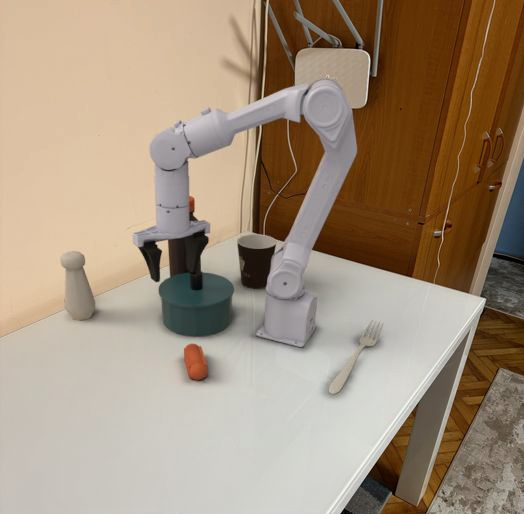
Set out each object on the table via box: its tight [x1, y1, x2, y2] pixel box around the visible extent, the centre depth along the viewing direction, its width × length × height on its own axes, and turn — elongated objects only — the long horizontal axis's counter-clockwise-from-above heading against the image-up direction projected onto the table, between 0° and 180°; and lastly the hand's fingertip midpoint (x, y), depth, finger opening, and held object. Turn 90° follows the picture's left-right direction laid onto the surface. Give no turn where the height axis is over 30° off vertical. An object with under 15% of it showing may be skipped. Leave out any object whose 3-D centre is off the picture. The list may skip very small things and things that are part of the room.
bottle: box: [167, 195, 202, 277], centre depth 108 cm, size 7×7×20 cm
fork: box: [328, 319, 384, 395], centre depth 91 cm, size 3×24×2 cm, turn 152°
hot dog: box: [183, 343, 208, 381], centre depth 86 cm, size 9×3×3 cm, turn 16°
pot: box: [160, 295, 233, 338], centre depth 100 cm, size 13×13×6 cm
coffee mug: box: [236, 233, 277, 290], centre depth 115 cm, size 12×9×10 cm
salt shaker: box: [60, 250, 96, 321], centre depth 97 cm, size 6×6×13 cm
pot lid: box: [158, 270, 235, 308], centre depth 97 cm, size 14×14×4 cm
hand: (173, 275), depth 94 cm, fingers open, 7 cm apart
